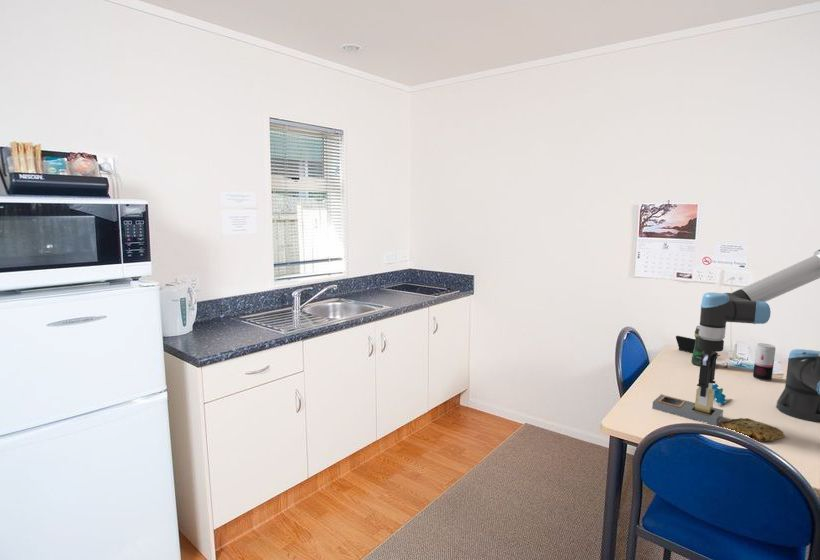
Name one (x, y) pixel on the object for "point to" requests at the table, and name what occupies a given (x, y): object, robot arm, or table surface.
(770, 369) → the beverage can
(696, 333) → the coffee jar
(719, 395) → the blue irregular branched piece
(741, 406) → the table surface
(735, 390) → the table surface
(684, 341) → the game console
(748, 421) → the pastry
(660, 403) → the grey block
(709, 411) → the brass peg
